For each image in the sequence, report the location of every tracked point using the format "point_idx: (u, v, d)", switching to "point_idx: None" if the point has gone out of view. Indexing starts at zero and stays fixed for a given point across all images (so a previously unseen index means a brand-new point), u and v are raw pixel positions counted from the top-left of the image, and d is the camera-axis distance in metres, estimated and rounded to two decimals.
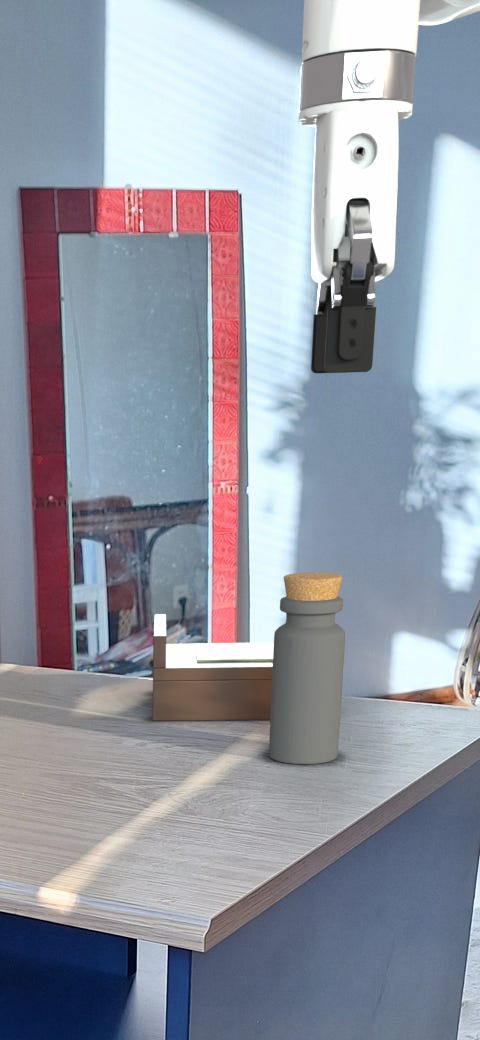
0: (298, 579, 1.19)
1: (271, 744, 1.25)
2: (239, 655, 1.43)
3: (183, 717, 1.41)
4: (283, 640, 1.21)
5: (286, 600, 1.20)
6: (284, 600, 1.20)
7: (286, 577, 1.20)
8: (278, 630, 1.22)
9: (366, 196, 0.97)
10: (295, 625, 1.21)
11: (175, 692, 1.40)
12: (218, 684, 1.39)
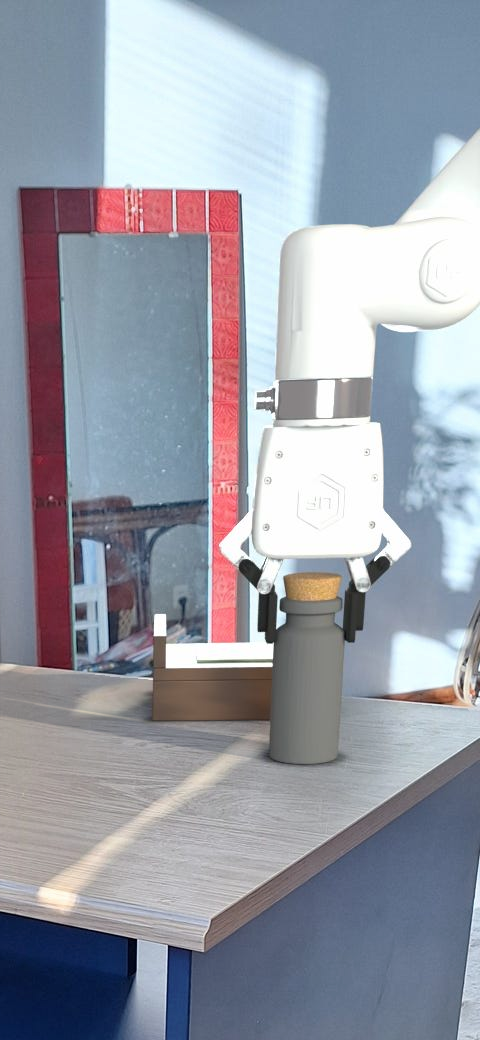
0: (297, 579, 1.19)
1: (271, 744, 1.25)
2: (239, 655, 1.43)
3: (183, 717, 1.41)
4: (283, 640, 1.21)
5: (286, 600, 1.20)
6: (284, 600, 1.20)
7: (285, 577, 1.20)
8: (277, 630, 1.22)
9: None
10: (295, 625, 1.21)
11: (175, 692, 1.40)
12: (218, 684, 1.39)
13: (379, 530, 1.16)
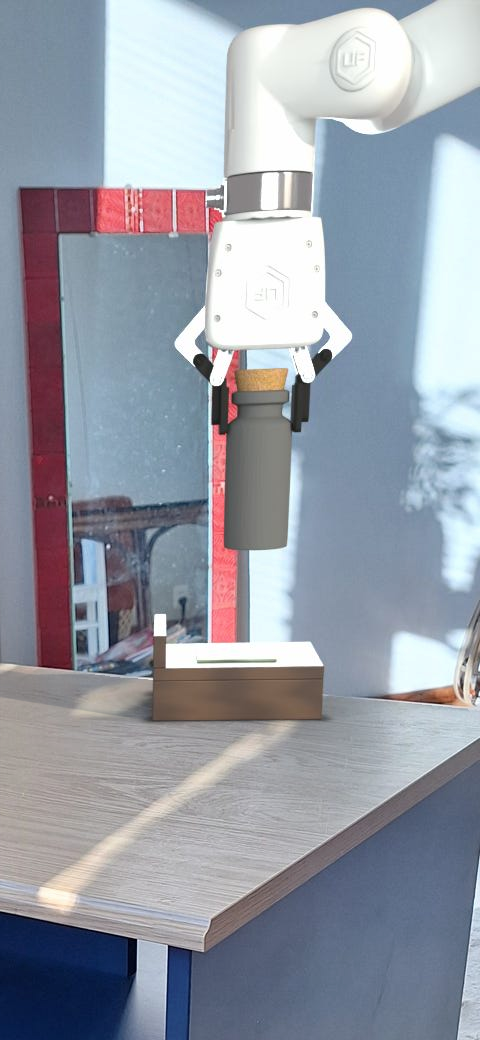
0: (247, 370, 1.28)
1: (225, 534, 1.35)
2: (239, 655, 1.43)
3: (183, 717, 1.41)
4: (234, 430, 1.30)
5: (237, 392, 1.29)
6: (235, 392, 1.30)
7: (236, 370, 1.29)
8: (229, 423, 1.31)
9: None
10: (246, 416, 1.30)
11: (175, 692, 1.40)
12: (218, 684, 1.39)
13: (321, 320, 1.25)
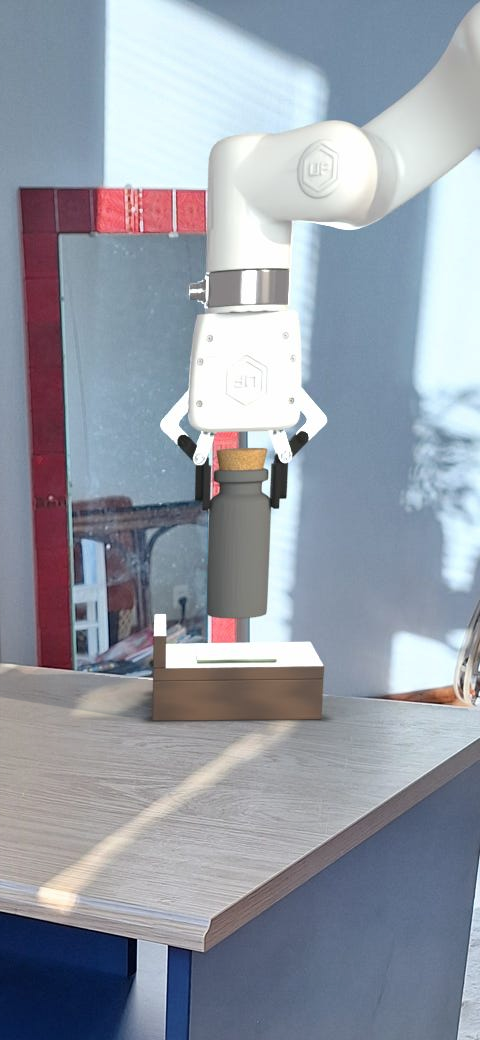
0: (228, 451, 1.36)
1: (208, 602, 1.42)
2: (239, 655, 1.43)
3: (183, 717, 1.41)
4: (216, 506, 1.38)
5: (218, 471, 1.37)
6: (217, 471, 1.37)
7: (218, 450, 1.37)
8: (212, 499, 1.39)
9: (189, 377, 1.35)
10: (227, 493, 1.37)
11: (175, 692, 1.40)
12: (218, 684, 1.39)
13: (298, 405, 1.33)
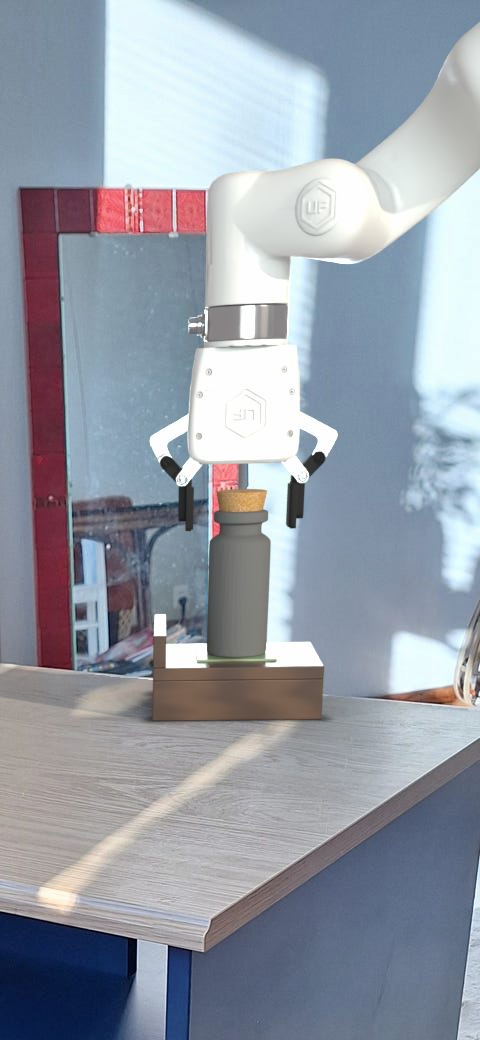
0: (228, 493, 1.37)
1: (208, 641, 1.44)
2: None
3: (183, 717, 1.41)
4: (216, 547, 1.39)
5: (218, 512, 1.39)
6: (217, 512, 1.39)
7: (218, 492, 1.38)
8: (212, 539, 1.40)
9: None
10: (227, 534, 1.39)
11: (175, 692, 1.40)
12: (218, 684, 1.39)
13: (296, 438, 1.34)
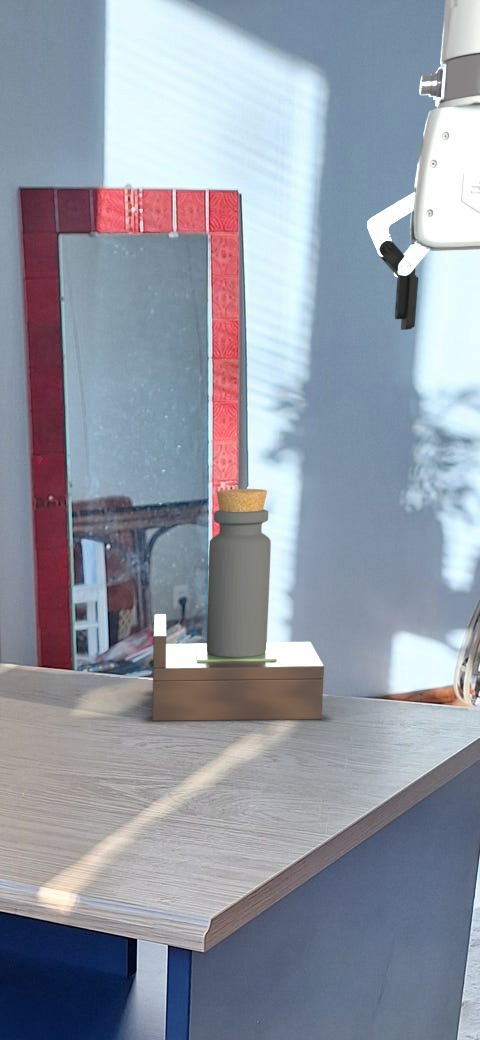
0: (228, 493, 1.37)
1: (208, 641, 1.44)
2: None
3: (183, 717, 1.41)
4: (216, 547, 1.39)
5: (219, 512, 1.39)
6: (217, 512, 1.39)
7: (218, 492, 1.38)
8: (212, 539, 1.40)
9: (416, 185, 1.20)
10: (227, 534, 1.39)
11: (175, 692, 1.40)
12: (218, 684, 1.39)
13: None
